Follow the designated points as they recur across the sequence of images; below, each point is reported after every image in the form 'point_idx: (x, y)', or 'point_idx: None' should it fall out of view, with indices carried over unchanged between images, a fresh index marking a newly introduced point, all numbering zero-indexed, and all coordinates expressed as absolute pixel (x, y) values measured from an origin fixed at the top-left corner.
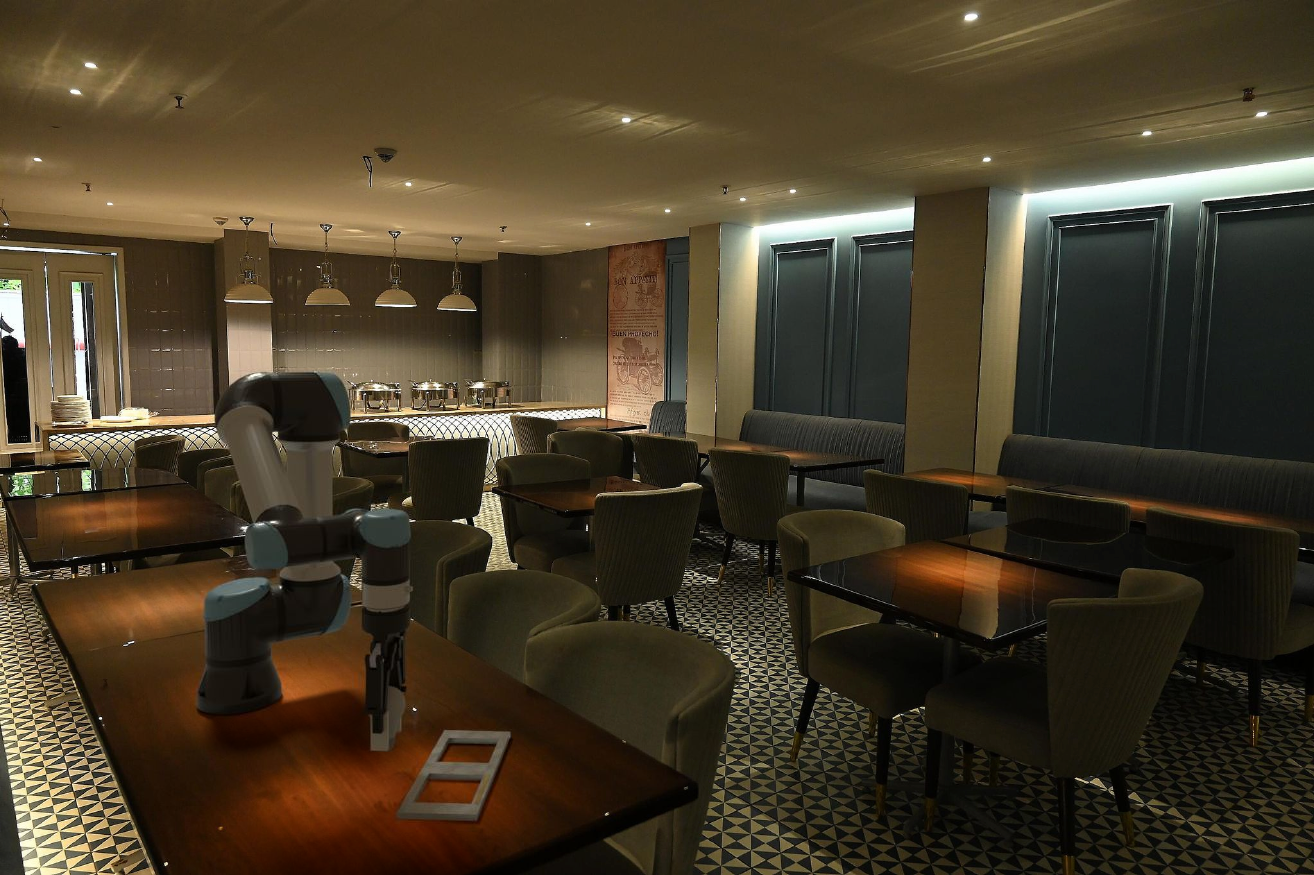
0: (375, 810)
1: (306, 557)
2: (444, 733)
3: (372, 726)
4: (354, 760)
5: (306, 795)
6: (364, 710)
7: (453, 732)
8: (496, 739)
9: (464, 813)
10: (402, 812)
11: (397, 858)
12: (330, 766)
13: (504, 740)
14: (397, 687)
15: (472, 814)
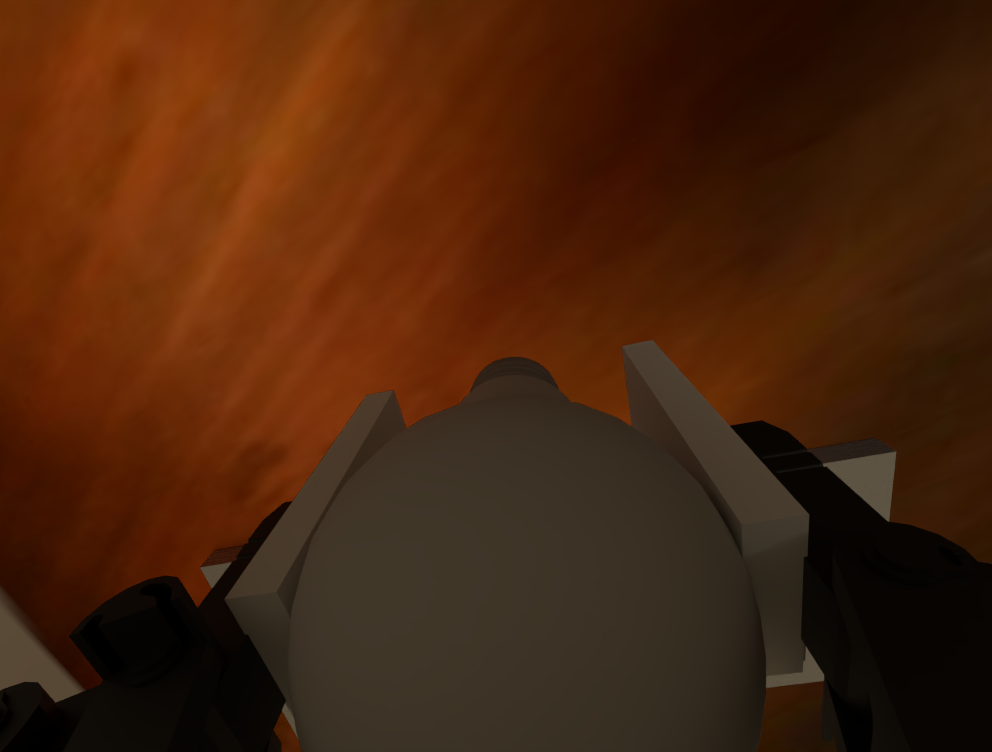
0: (223, 467)
1: None
2: (855, 466)
3: (244, 548)
4: (560, 144)
5: (172, 119)
6: (79, 627)
7: (866, 496)
8: (804, 650)
9: (292, 720)
10: (209, 582)
11: (57, 631)
12: (465, 44)
13: (792, 677)
14: (846, 739)
15: (297, 736)
